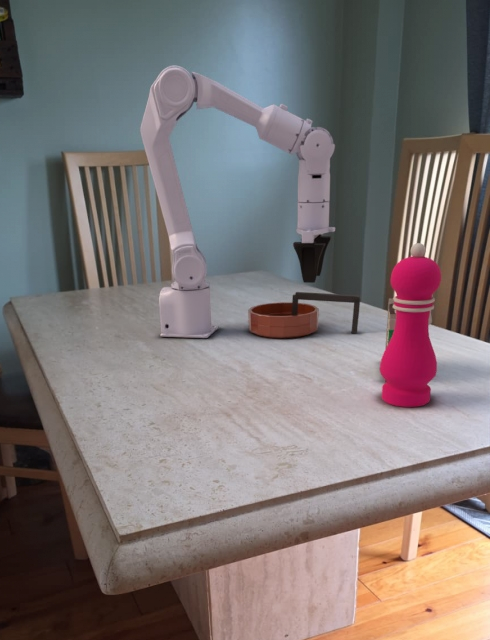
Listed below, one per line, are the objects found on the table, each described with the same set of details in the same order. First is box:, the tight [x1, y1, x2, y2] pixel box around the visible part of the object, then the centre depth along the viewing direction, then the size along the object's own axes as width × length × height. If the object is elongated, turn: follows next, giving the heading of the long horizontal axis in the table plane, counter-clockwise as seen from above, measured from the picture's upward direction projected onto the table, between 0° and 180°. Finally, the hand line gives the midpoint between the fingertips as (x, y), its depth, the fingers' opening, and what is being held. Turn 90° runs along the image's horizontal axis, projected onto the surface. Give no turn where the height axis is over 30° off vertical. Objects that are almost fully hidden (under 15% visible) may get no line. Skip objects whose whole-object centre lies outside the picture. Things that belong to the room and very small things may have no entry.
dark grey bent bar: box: [291, 291, 361, 334], centre depth 117 cm, size 16×5×7 cm, turn 76°
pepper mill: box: [379, 242, 442, 408], centre depth 79 cm, size 7×7×20 cm
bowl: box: [247, 301, 319, 339], centre depth 119 cm, size 13×13×4 cm
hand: (312, 278), depth 118 cm, fingers open, 7 cm apart
